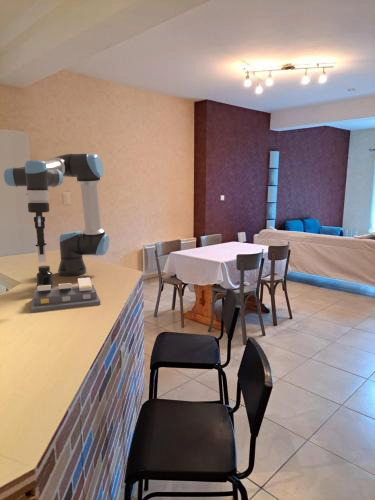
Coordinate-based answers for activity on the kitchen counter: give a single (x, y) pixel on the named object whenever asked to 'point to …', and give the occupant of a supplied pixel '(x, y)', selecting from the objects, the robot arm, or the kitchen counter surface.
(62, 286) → the rocker
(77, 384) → the kitchen counter surface
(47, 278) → the supplement bottle
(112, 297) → the kitchen counter surface
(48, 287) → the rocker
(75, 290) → the switch unit
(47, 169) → the robot arm
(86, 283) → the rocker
